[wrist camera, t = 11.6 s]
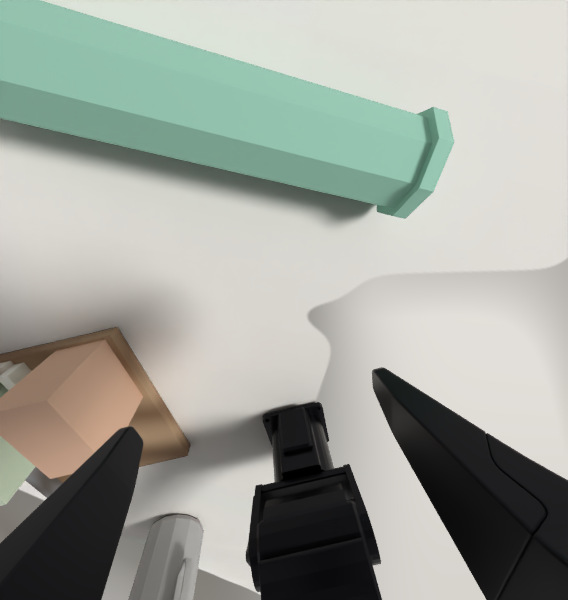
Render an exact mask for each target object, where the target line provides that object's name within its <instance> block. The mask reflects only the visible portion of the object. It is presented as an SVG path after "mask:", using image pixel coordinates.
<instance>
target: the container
mask: <svg viewBox="0 0 568 600" xmlns="http://www.w3.org/2000/svg"><path fill="white" fill-rule="evenodd" d="M0 119H5V120H9V121H13V122H18V123H22V124H26V125H31V126H35V127H39V128H44V129H48V130H53V131H57V132H61V133H66V134H70V135H74V136H79V137H83V138H87V139H92V140H96V141H100V142H105V143H109V144H114V145H118V146H122V147H127V148H131V149H135V150H140V151H144V152H148V153H153V154H157V155H162V156H166V157H170V158H175V159H179V160H183V161H188V162H192V163H196V164H201V165H205V166H210V167H214V168H218V169H223V170H227V171H231V172H236V173H240V174H244V175H249V176H253V177H257V178H262V179H266V180H271V181H275V182H279V183H284V184H288V185H292V186H297V187H301V188H305V189H310V190H314V191H319V192H323V193H327V194H332V195H336V196H340V197H345V198H349V199H353V200H358V201H362V202H367V203H371V204H375V205H377V212H380V213H383V214H387V215H391V216H396V217H400V218H406V217H408V216H409V215H410V214H411V213H412V212H413V211H414V210H415V209H416V208H417V207H418V206H419V205H420V204H421V203H422V202H423V201H424V200H425V199H426V198H427V197H428V196H429V195H430V194H431V193H433V191H434V189H435V187H436V184H437V182H438V180H439V177H440V175H441V172H442V170H443V168H444V165H445V163H446V161H447V158H448V156H449V153H450V151H451V149H452V146H453V144H454V139H453V134H452V130H451V125H450V121H449V116H448V112H447V111H444V110H441V109H438V108H435V107H432V108H430V109H428V110H425V111H423V112H421V113H419V114H414V113H411V112H407V111H404V110H401V109H397V108H394V107H391V106H388V105H384V104H381V103H378V102H374V101H371V100H368V99H364V98H361V97H358V96H354V95H351V94H348V93H345V92H341V91H338V90H335V89H331V88H328V87H325V86H321V85H318V84H315V83H311V82H308V81H305V80H302V79H298V78H295V77H292V76H288V75H285V74H282V73H278V72H275V71H272V70H269V69H265V68H262V67H259V66H255V65H252V64H249V63H245V62H242V61H239V60H235V59H232V58H229V57H226V56H222V55H219V54H216V53H212V52H209V51H206V50H202V49H199V48H196V47H192V46H189V45H186V44H183V43H179V42H176V41H173V40H169V39H166V38H163V37H159V36H156V35H153V34H149V33H146V32H143V31H140V30H136V29H133V28H130V27H126V26H123V25H120V24H116V23H113V22H110V21H106V20H103V19H100V18H97V17H93V16H90V15H87V14H83V13H80V12H77V11H73V10H70V9H67V8H64V7H60V6H57V5H54V4H50V3H47V2H44V1H40V0H0Z"/></svg>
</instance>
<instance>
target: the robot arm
mask: <svg viewBox="0 0 568 600" xmlns="http://www.w3.org/2000/svg"><path fill="white" fill-rule="evenodd" d="M372 380H373V389H374V392H375V394H376V397H377V399H378V401H379V403H380V406H381V408H382V410H383V413H384V415H385V417H386V420H387V422H388V424H389V426H390V428H391V431H392V433H393V435H394V437H395V439H396V440H397V442H398V444H399V446H400V447H401V449H402V451H403V453H404V455H405V456H406V458H407V460H408V461H409V463H410V465H411V467H412V469H413V470H414V472H415V474H416V476H417V478H418V479H419V481H420V483H421V485H422V486H423V488H424V490H425V492H426V493H427V495H428V497H429V498H430V501H431V502H432V504H433V506H434V508H435V509H436V511H437V513H438V515H439V516H440V518H441V520H442V522H443V523H444V525H445V527H446V529H447V530H448V532H449V534H450V536H451V537H452V539H453V541H454V543H455V545H456V546H457V548H458V550H459V552H460V554H461V555H462V557H463V559H464V561H465V562H466V564H467V566H468V568H469V570H470V571H471V573H472V575H473V577H474V578H475V580H476V582H477V584H478V585H479V587H480V589H481V591H482V593H483V594H484V596H485V598H486V600H568V480H566V479H565V478H563V477H561V476H559V475H557V474H555V473H554V472H552V471H550V470H548V469H546V468H545V467H543V466H541V465H539V464H538V463H536V462H534V461H532V460H530V459H529V458H527V457H525V456H523V455H522V454H520V453H519V452H517V451H516V450H514V449H512V448H511V447H509V446H507V445H506V444H504V443H502V442H501V441H499V440H498V439H496V438H494V437H493V436H491V435H490V434H488V433H487V434H486V433H485V431H483V430H482V429H480V428H478V427H477V426H475V425H474V424H472V423H471V422H469V421H467V420H466V419H464V418H463V417H461V416H460V415H458V414H456V413H455V412H453V411H452V410H450V409H449V408H447V407H445V406H444V405H442V404H441V403H439V402H438V401H436V400H434V399H433V398H431V397H429V396H428V395H426V394H425V393H423V392H422V391H420V390H419V389H417V388H415V387H414V386H412V385H411V384H409V383H407V382H406V381H404V380H403V379H401V378H400V377H398V376H396V375H395V374H393V373H392V372H390V371H389V370H387V369H385V368H378V369H374V370H373V371H372ZM263 423H264V426H265V429H266V431H267V434H268V437H269V439H270V442H271V445H272V447H273V463H274V479H275V483H270V484H266V485H262V484H261V485H256V488H255V496H254V497H253V505H252V514H251V524H250V533H249V542H248V546H247V550H246V561H247V563H248V564H249V565H250V567H251V571H252V578H253V583H254V586H255V589H256V591H257V592H261V600H382V598H381V594H380V591H379V587H378V584H377V580H376V576H375V573H374V569H373V565H376V564H381V560H380V555H379V551H378V547H377V543H376V539H375V536H374V532H373V529H372V526H371V523H370V520H369V517H368V514H367V511H366V508H365V505H364V502H363V500H362V497H361V494H360V492H359V489H358V486H357V484H356V481H355V479H354V476H353V473H352V470H351V467H350V465H349V464H347V465H344V466H343V467H339V468H335V469H334V467H333V463H332V459H331V456H330V452H329V449H328V444H327V442H328V441H329V438H328V433H327V428H326V423H325V418H324V413H323V408H322V404H321V403H319V402H317V403H312V404H308V405H304V406H299V407H295V408H291V409H287V410H282V411H278V412H274V413H269V414H266V415H264V416H263ZM142 450H143V439H142V438H141V436H140V435H139V434H138V432H137V431H136V430H135V428H134V427H132V426H128V427H124V428H121V429H119V430H117V431H116V432H115V433H114V434H113V435H112V436H111V437H110V438H109V439H108V440H107V441H106V442H105V443H104V444H103V445H102V446H101V447H100V448H99V449H98V450H97V451H96V452H95V453H94V454H93V455H92V456H90V457H89V458H88V459H87V460H86V461H85V462H84V463H83V464H82V465H81V466H80V467H79V468H78V469H77V470H76V471H75V472H74V473H73V474H72V475H71V476H70V477H69V478H68V479H67V480H66V481H65V482H64V483H62V484H61V485H60V486H59V487H58V488H57V489H56V490H55V491H54V492H53V493H52V494H51V495H50V496H49V497H48V498H47V499H46V500H45V501H44V502H43V503H42V504H41V505H40V506H39V507H38V508H37V509H36V510H34V511H33V513H31V514H30V515H29V516H28V517H27V518H26V519H25V520H24V521H23V522H22V523H21V524H20V525H19V526H18V527H17V528H16V529H15V530H14V531H13V532H12V533H11V534H10V535H9V536H7V538H5V539H4V540H3V541H2V542H1V543H0V600H101V598H102V595H103V592H104V589H105V585H106V582H107V578H108V576H109V572H110V569H111V566H112V562H113V559H114V556H115V552H116V549H117V546H118V542H119V539H120V536H121V533H122V529H123V526H124V523H125V519H126V516H127V513H128V509H129V506H130V503H131V499H132V496H133V492H134V488H135V483H136V479H137V474H138V469H139V464H140V459H141V455H142Z"/></svg>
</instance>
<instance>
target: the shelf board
mask: <svg viewBox="0 0 568 600" xmlns="http://www.w3.org/2000/svg"><path fill="white" fill-rule="evenodd" d="M104 339H105V340H106V341H107V343H108V344H109V346H110V347H111V349H112V350H113V352H114V353H115V355H116V356H117V358H118V359H119V361H120V362H121V364H122V365H123V367H124V368H125V370H126V371H127V373H128V374H129V376H130V378H131V379H132V381H133V382H134V384H135V385H136V387H137V388H138V390H139V391H140V393H141V394H142V396H143V398H142V400H141V402H140V404H139V406H138V408H137V410H136V412H135V414H134V415H133V417H132V419H131V421H130V423H129V425H128V426H132V427H134V428H135V430H136V431H137V432H138V434H139V435H140V436H141V438H142V439H143V450H142V455H141V459H140V464H139V467H141V466H145V465H150V464H154V463H158V462H163V461H167V460H171V459H175V458H180V457H184V456H188V452H189V448H190V444H189V442H188V440H187V439H186V437H185V435H184V434H183V432H182V431H181V429H180V427H179V426H178V424H177V423H176V421H175V419H174V418H173V416H172V414H171V413H170V411H169V410H168V408H167V406H166V405H165V403H164V402H163V400H162V398H161V397H160V395H159V393H158V392H157V390H156V389H155V387H154V385H153V384H152V382H151V380H150V379H149V377H148V376H147V374H146V372H145V371H144V369H143V368H142V366H141V364H140V363H139V361H138V359H137V358H136V356H135V355H134V353H133V351H132V350H131V348H130V347H129V345H128V343H127V342H126V340H125V338H124V337H123V335H122V334H121V332H120V330H119V329H118V327H116V328H111V329H107V330H103V331H99V332H94V333H90V334H86V335H82V336H77V337H73V338H69V339H64V340H60V341H56V342H52V343H47V344H43V345H39V346H35V347H30V348H26V349H22V350H17V351H13V352H9V353H5V354H0V382H1V383H2V384H3V385H4V386H5V387H6V388H7V389H8V390H10V389H11V388H12V387H13V386H15V385H16V384H17V383H18V382H19V381H21V380H22V379H23V378H24V377H25V376H27V375H28V374H29V373H30V372H31V371H32V370H34V369H35V368H36V367H37V366H38V365H40V364H41V363H42V362H43V361H44V360H45V359H47V358H48V357H49V356H50V355H51V354H53V353H54V352H55V351H57V350H62V349H66V348H70V347H74V346H79V345H83V344H87V343H91V342H96V341H100V340H104ZM71 475H72V474H70V475H66V476H61V477H57V478H53V479H50V478H48V477H47V476H46V475H45V474H44V473H43V472H41V471H40V470H39V469H38V468H37V467H35V468H34V469H33V471H32V472H31V473H30V474H29V476H28V477H27V478H26V481H27V482H28V483H29V484H31V485H32V486H33V487H34V488H36V489H37V490H38V491H39V492H41V493H42V494H43V495H44V496H45V497H47V498H48V497H49V496H50V495H51V494H52V493H53V492H54V491H55V490H56V489H57V488H58V487H59V486H60V485H61V484H62V483H64V482H65V481H66V480H67V479H68V478H69V477H70V476H71Z"/></svg>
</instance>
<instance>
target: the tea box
mask: <svg viewBox="0 0 568 600" xmlns="http://www.w3.org/2000/svg"><path fill="white" fill-rule="evenodd" d="M8 391H9V390H8V389H7V388H6V387H5V386H4V385H3V384H2V383H1V382H0V397H2V396H3V395H4V394H5V393H6V392H8ZM35 467H36V466H35V465H33V464H32V463H31V462H30V461H29V460H28V459H26V458H25V457H24V456H23V455H22V454H21V453H19V452H18V451H17V450H16V449H15V448H14V447H13V446H11V445H10V444H9V443H8V442H7V441H6V440H4V439H3V438H2V437H1V436H0V506H2V505H6V504H7V503H8V502H9V500H10V499H11V498H12V496H13V495H14V494H15V493H16V491H17V490H18V489H19V487H20V486H21V485H22V484H23V482H24V481H25V480H26V478H27V477H28V476H29V474H30V473H31V472H32V471H33V469H34V468H35Z"/></svg>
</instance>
